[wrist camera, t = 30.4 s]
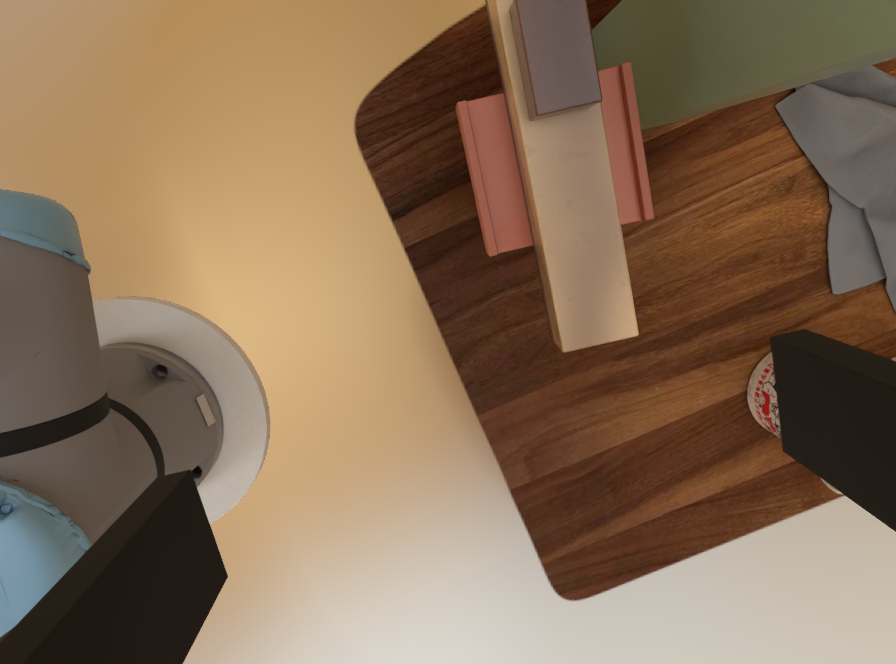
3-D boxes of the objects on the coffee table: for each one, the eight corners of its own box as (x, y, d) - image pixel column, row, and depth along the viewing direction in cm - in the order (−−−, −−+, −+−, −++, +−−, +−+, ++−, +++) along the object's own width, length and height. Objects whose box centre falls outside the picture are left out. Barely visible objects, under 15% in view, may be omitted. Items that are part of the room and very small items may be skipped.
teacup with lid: (736, 351, 54) (819, 393, 43) (838, 328, 54) (949, 364, 42) (751, 474, 57) (834, 544, 45) (849, 452, 56) (956, 517, 45)
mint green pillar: (604, 139, 50) (933, 34, 17) (587, 34, 48) (918, -296, 16) (676, 121, 50) (1143, -15, 17) (662, 16, 48) (1150, -353, 16)
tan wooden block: (551, 340, 34) (572, 363, 30) (484, -3, 31) (495, -41, 26) (621, 323, 34) (653, 345, 30) (562, -22, 31) (589, -63, 26)
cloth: (989, 278, 53) (1013, 281, 51) (837, 338, 54) (855, 344, 52) (924, -29, 48) (948, -40, 46) (756, 42, 48) (772, 34, 46)
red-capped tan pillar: (466, 235, 51) (489, 256, 33) (445, 136, 49) (456, 102, 31) (572, 210, 51) (654, 218, 33) (555, 110, 49) (631, 60, 31)
